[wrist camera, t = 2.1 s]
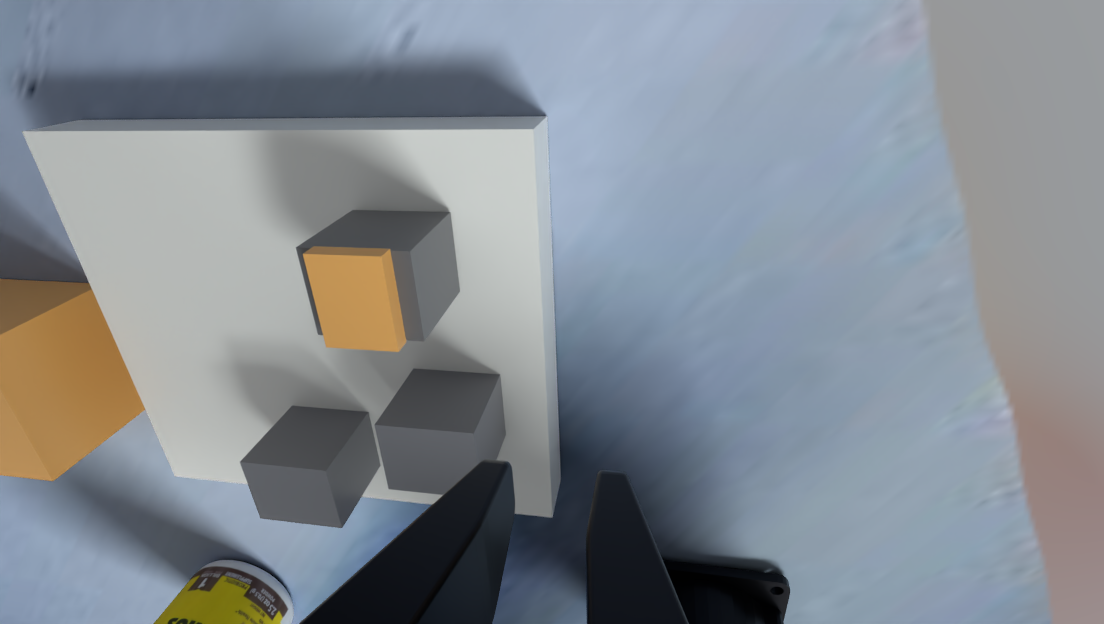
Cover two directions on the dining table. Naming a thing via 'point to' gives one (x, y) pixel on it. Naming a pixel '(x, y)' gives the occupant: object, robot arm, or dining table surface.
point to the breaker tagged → (380, 277)
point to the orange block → (57, 378)
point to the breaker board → (284, 309)
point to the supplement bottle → (230, 597)
